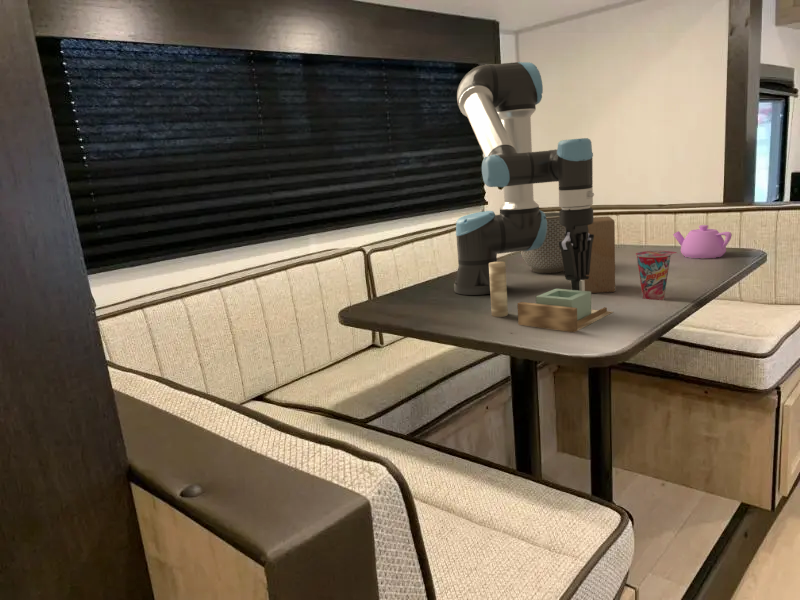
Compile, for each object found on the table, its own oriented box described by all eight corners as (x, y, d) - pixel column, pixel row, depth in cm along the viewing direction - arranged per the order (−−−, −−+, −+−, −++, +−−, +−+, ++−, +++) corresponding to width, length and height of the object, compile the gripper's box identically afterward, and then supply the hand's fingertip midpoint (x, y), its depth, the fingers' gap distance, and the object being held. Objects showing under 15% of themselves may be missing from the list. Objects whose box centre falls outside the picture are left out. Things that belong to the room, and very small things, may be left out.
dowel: (488, 319, 147) (485, 264, 144) (497, 315, 150) (495, 261, 147) (502, 321, 145) (499, 264, 142) (511, 317, 147) (508, 261, 144)
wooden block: (615, 292, 164) (614, 219, 159) (577, 294, 166) (576, 222, 161) (610, 284, 173) (609, 216, 169) (574, 286, 175) (573, 218, 171)
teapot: (683, 251, 216) (684, 222, 214) (740, 255, 200) (742, 223, 198) (662, 257, 209) (662, 226, 206) (719, 261, 193) (720, 228, 190)
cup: (650, 304, 148) (650, 257, 145) (628, 298, 156) (628, 253, 153) (682, 299, 150) (682, 252, 147) (658, 293, 158) (659, 248, 155)
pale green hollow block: (536, 321, 138) (535, 296, 137) (556, 312, 144) (555, 288, 143) (572, 326, 132) (571, 300, 131) (591, 316, 138) (591, 291, 137)
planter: (569, 276, 189) (567, 217, 185) (510, 275, 200) (507, 218, 195) (585, 265, 205) (584, 210, 201) (530, 265, 216) (528, 212, 212)
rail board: (518, 328, 137) (517, 303, 136) (560, 309, 150) (559, 286, 149) (574, 336, 128) (573, 309, 126) (613, 315, 141) (613, 291, 139)
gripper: (577, 210, 130) (579, 314, 135) (604, 204, 139) (605, 302, 144) (547, 211, 135) (550, 311, 140) (574, 205, 144) (576, 299, 149)
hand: (578, 306), depth 142 cm, fingers closed
